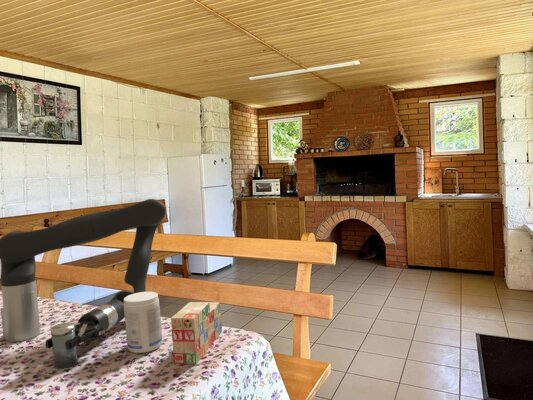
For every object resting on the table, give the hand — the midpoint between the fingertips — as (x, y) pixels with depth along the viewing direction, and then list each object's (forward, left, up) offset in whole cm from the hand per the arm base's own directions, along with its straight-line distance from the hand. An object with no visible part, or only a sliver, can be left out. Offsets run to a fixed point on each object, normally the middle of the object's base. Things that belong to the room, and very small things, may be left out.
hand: (57, 345), depth 100 cm
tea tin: (0, +3, -6) cm, 7 cm away
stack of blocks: (+32, +17, -6) cm, 36 cm away
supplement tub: (+16, +15, -6) cm, 23 cm away
